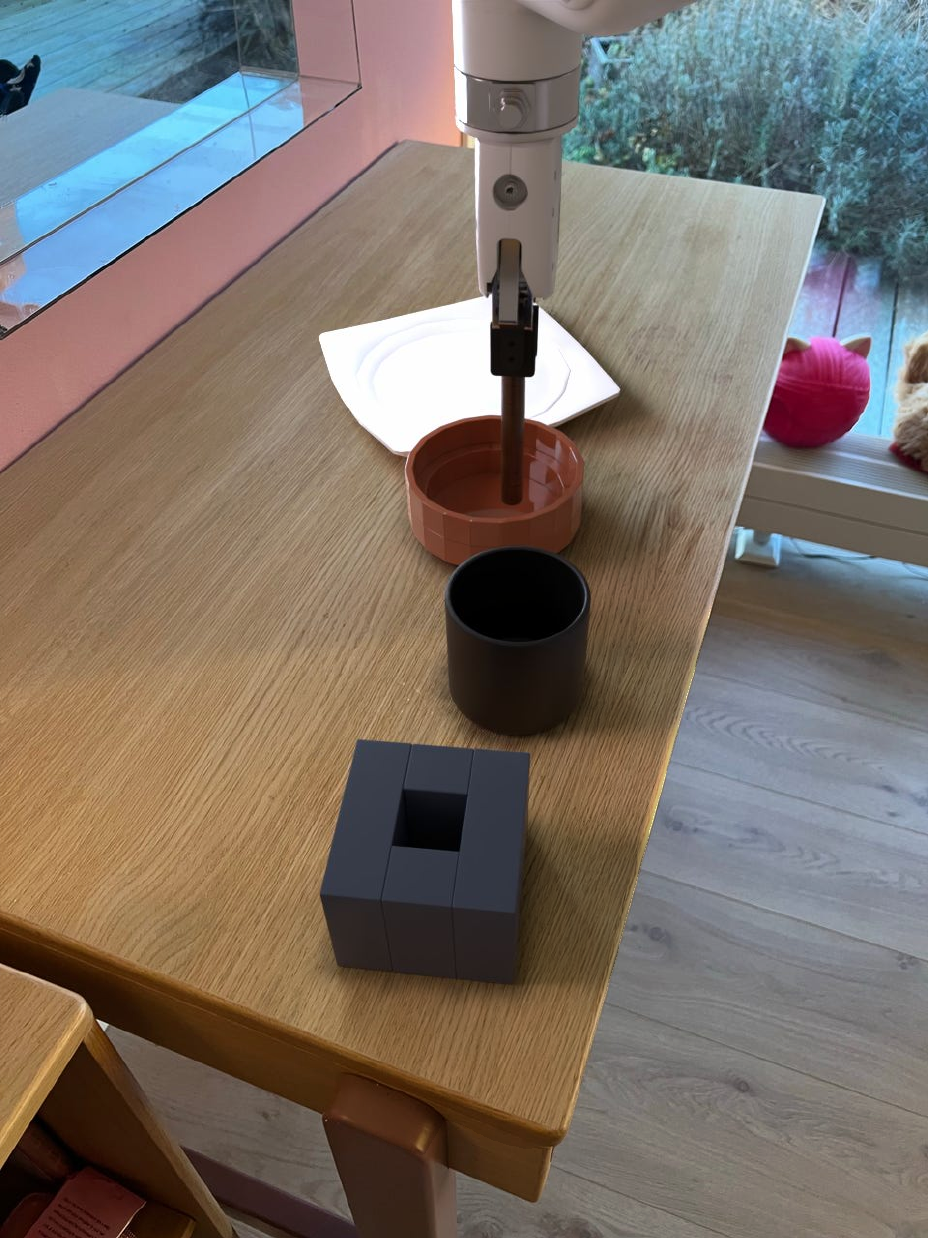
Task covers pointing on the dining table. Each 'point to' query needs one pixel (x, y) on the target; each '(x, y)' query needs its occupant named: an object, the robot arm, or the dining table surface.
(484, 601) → the mug
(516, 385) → the stick
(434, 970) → the holder
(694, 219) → the dining table surface
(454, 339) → the plate
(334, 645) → the dining table surface
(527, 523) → the bowl
